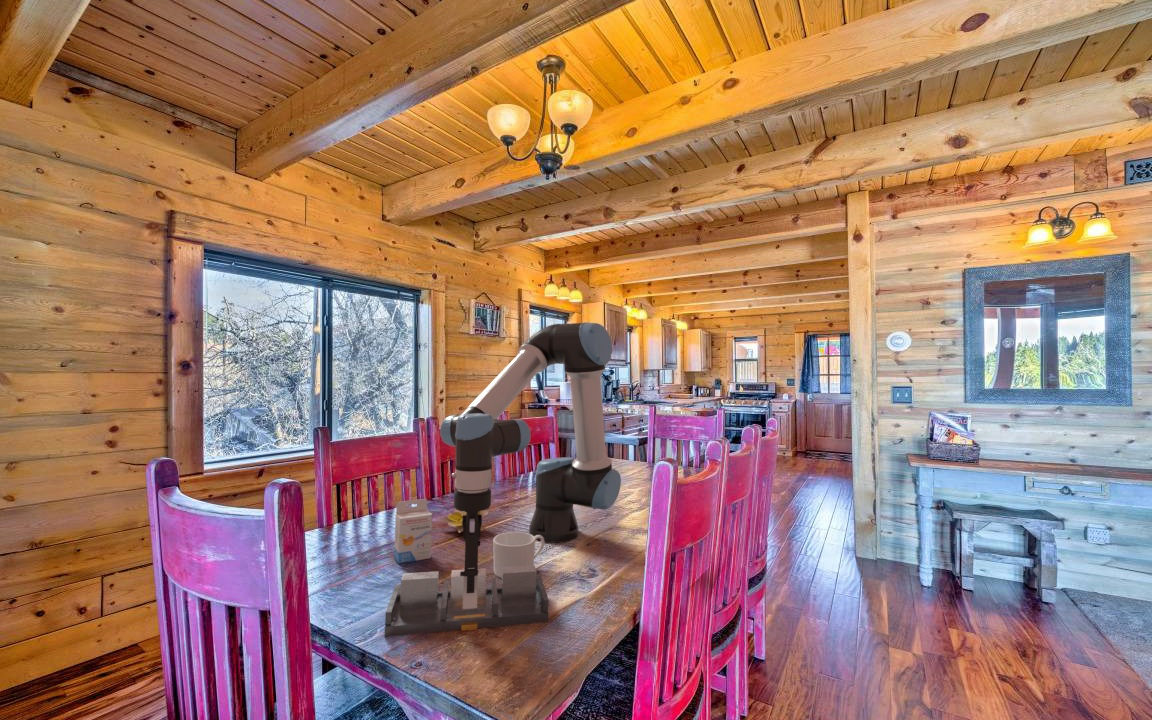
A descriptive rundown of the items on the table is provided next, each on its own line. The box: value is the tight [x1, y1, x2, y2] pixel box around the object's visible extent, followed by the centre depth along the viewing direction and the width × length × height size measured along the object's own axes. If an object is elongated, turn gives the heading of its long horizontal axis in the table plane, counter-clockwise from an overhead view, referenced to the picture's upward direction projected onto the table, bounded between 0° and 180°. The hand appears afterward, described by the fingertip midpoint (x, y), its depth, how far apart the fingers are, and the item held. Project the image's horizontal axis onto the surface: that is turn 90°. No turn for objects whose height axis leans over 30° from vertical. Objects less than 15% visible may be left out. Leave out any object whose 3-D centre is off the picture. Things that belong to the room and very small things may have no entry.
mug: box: [492, 531, 545, 579], centre depth 121 cm, size 13×10×8 cm
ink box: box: [393, 498, 433, 565], centre depth 127 cm, size 8×5×15 cm, turn 123°
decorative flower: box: [438, 508, 489, 533], centre depth 150 cm, size 15×11×10 cm
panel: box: [450, 567, 487, 612], centre depth 99 cm, size 7×3×7 cm, turn 102°
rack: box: [383, 565, 550, 637], centre depth 99 cm, size 31×14×8 cm, turn 102°
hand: (470, 591), depth 99 cm, fingers open, 13 cm apart
